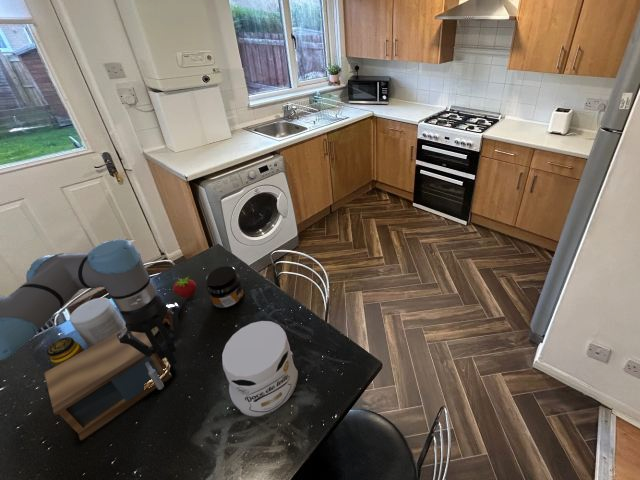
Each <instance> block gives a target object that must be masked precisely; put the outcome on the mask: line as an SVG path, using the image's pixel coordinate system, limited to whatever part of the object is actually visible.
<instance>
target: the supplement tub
mask: <svg viewBox="0 0 640 480" xmlns="http://www.w3.org/2000/svg"><path fill="white" fill-rule="evenodd" d="M69 322H70V324H71V326H72V327H73V329H74V330H75V331H76V332H77V333H78V335H79V336H80V337H81V339H82V340H83V341H84V342H85V343H86V345H87V346H88V348H90V347H92V346H94V345H95V344H97V343H99V342H101V341H103V340H104V339H106V338H108V337H110V336H112V335H113V334H115V333H117V332H119V331H121V330H122V329H124V328H126V327H125V325H126V321H125V320H124V318H123V317H122V315H121V313H120V312H119V310H118V309H117V307H116V305H115V304H113V301H111V300H110V299H109V298H108V297H98V298H93V299H90V300H88V301H86V302H84V303H82V304H81V305H79V306H77V307H76V308H75V309H74V310H73V311H72V313H70V315H69Z"/></svg>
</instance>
